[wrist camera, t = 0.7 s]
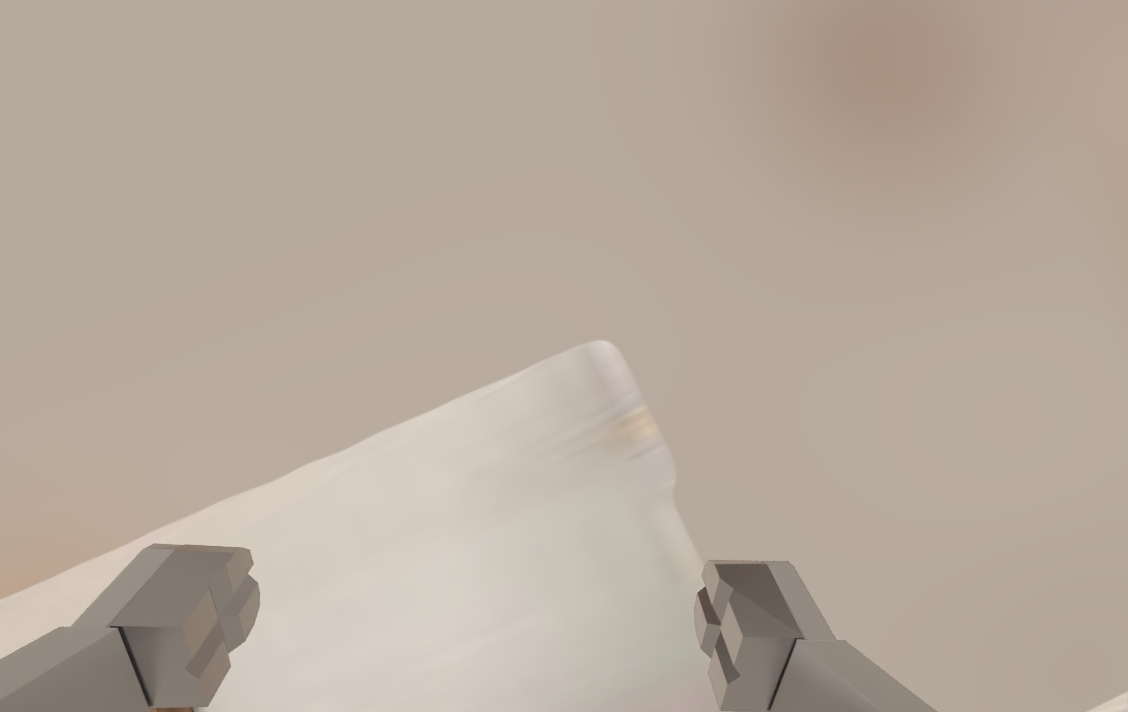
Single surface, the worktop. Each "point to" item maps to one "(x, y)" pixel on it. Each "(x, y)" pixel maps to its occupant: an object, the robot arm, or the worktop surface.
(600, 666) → the worktop surface
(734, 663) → the robot arm
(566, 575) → the worktop surface
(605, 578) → the worktop surface
